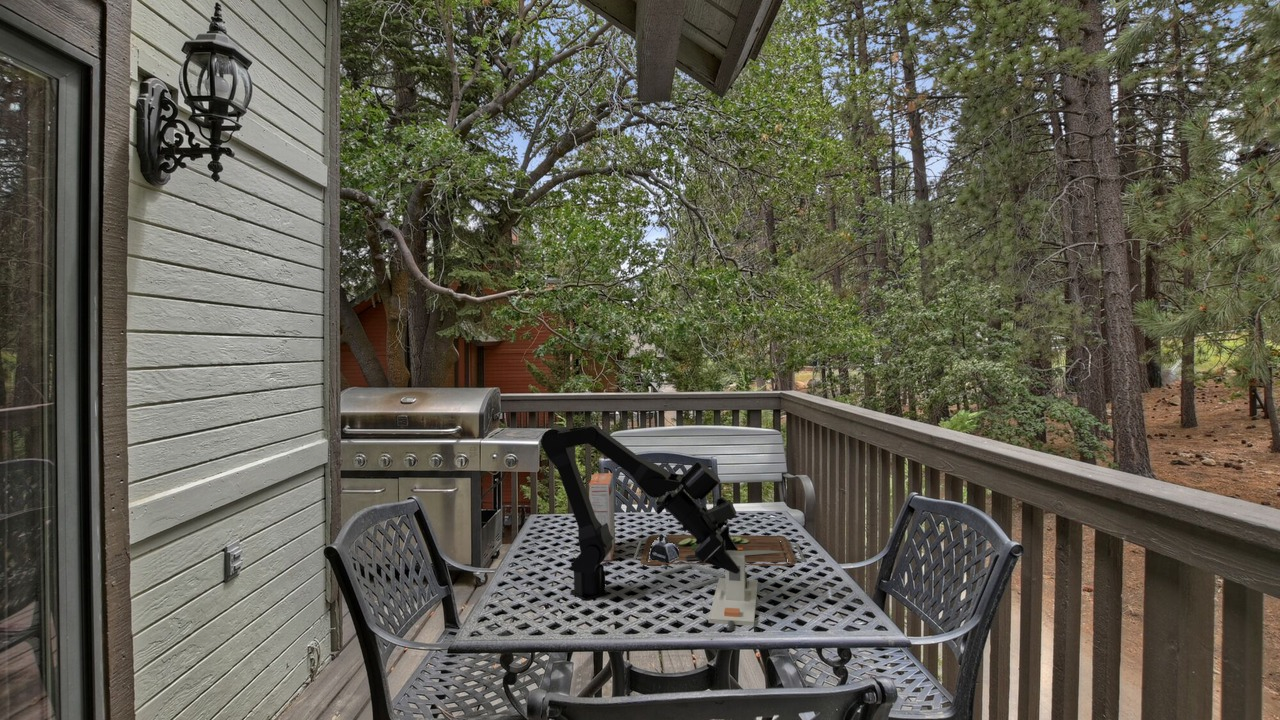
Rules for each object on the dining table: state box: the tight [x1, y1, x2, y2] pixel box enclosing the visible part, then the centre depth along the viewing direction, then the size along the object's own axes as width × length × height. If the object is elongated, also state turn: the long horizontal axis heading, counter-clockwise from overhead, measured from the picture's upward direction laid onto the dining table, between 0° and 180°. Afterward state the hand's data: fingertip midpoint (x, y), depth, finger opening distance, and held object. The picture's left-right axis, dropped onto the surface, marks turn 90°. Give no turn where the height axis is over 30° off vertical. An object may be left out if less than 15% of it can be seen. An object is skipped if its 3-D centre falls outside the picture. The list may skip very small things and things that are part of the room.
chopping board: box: [632, 534, 807, 567], centre depth 184 cm, size 45×27×3 cm, turn 84°
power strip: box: [708, 578, 759, 632], centre depth 145 cm, size 27×9×2 cm, turn 168°
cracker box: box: [588, 472, 616, 562], centre depth 184 cm, size 14×6×21 cm, turn 178°
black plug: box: [745, 571, 748, 589], centre depth 155 cm, size 4×4×4 cm
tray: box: [654, 564, 725, 591], centre depth 162 cm, size 12×12×1 cm
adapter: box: [724, 550, 746, 601], centre depth 148 cm, size 4×5×10 cm
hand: (739, 565), depth 147 cm, fingers open, 9 cm apart
